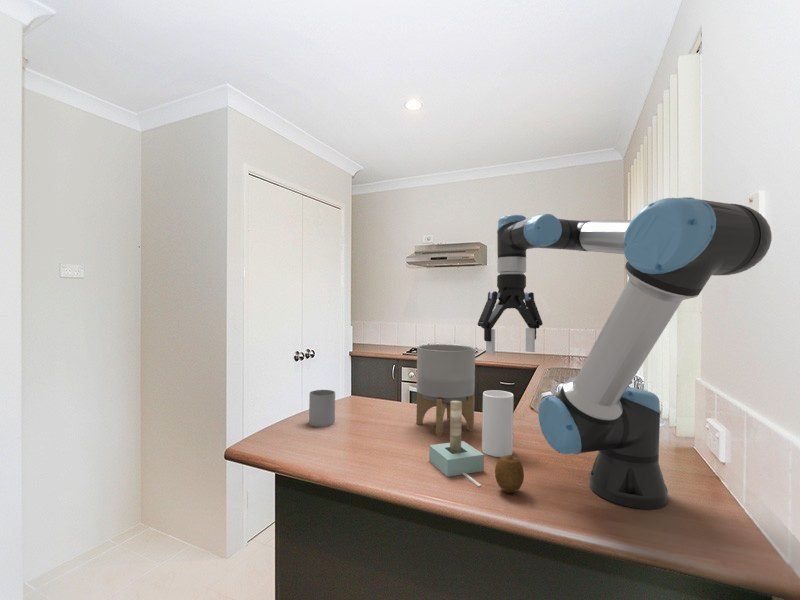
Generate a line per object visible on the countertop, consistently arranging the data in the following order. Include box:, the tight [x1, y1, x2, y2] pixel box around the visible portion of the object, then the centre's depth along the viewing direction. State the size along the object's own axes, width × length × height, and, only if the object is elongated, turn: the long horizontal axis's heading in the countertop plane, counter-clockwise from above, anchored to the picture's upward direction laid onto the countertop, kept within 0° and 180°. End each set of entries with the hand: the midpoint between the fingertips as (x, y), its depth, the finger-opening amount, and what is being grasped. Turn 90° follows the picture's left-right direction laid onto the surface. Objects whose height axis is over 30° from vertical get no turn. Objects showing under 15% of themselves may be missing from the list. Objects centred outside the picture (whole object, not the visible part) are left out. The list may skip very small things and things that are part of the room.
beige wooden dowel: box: [449, 401, 463, 454], centre depth 104 cm, size 3×3×16 cm
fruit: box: [494, 455, 525, 493], centre depth 90 cm, size 6×6×8 cm
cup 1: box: [308, 389, 336, 428], centre depth 137 cm, size 8×8×10 cm
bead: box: [428, 440, 485, 478], centre depth 104 cm, size 10×10×4 cm
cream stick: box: [462, 473, 482, 488], centre depth 96 cm, size 7×1×1 cm, turn 21°
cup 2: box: [481, 389, 514, 458], centre depth 114 cm, size 8×8×16 cm
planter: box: [415, 343, 476, 437], centre depth 135 cm, size 19×19×26 cm
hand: (510, 352), depth 111 cm, fingers open, 13 cm apart
